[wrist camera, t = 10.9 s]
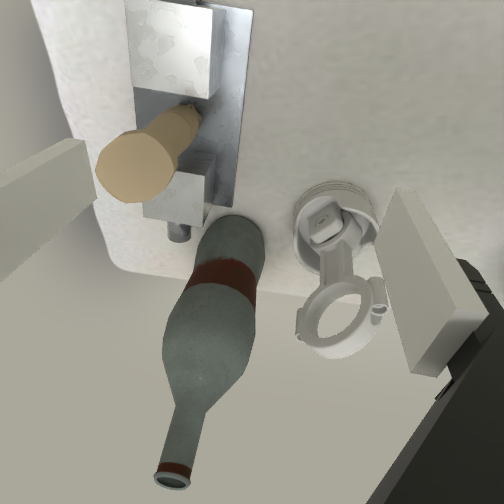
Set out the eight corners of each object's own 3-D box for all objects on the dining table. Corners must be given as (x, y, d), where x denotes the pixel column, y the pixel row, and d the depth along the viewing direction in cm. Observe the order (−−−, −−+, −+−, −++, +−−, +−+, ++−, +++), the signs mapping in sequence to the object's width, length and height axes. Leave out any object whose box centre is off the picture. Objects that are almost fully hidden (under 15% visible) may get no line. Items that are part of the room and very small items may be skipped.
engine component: (386, 221, 42) (343, 165, 38) (443, 356, 26) (377, 282, 22) (317, 261, 47) (273, 215, 43) (329, 394, 31) (259, 340, 27)
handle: (223, 120, 36) (186, 176, 24) (181, 150, 38) (128, 213, 27) (196, 79, 34) (140, 118, 22) (153, 114, 36) (82, 165, 24)
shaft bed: (258, -40, 28) (250, -51, 23) (229, 226, 45) (221, 255, 40) (123, -63, 28) (83, -79, 23) (145, 212, 45) (126, 239, 40)
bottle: (200, 209, 44) (88, 447, 20) (267, 212, 43) (232, 465, 19) (207, 262, 50) (125, 497, 26) (266, 266, 49) (238, 512, 25)
